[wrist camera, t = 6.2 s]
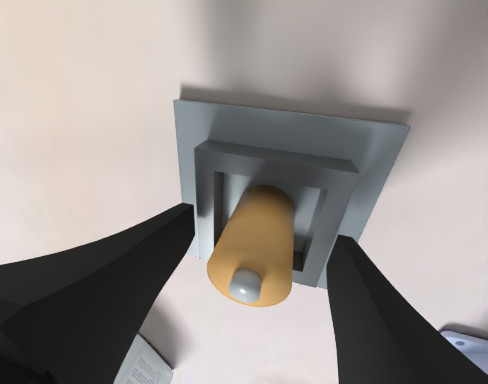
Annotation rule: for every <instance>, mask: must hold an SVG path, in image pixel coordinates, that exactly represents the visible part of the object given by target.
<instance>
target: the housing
mask: <svg viewBox="0 0 488 384" xmlns="http://www.w3.org/2000/svg"><path fill="white" fill-rule="evenodd" d="M173 102H174V114H175V125H176V136H177V148H178V159H179V171H180V182H181V194H182V203H188V204H193V205H194V218H195V237H194V239H193V241H192V243H191V245H190V247H189V249H188V251H187V254H188V255H192V256H196V257H199V259H203V260H207V261H208V260H209V258H210V256H211V254H212V252H213V250H214V248H215V247H216V245H217V243H218V241H219V239H220V237H221V235H222V233H223V231H224V229H225V227H226V225H227V223H228V221H229V219H230V217H231V215H232V213H233V211H234V209H235V207H236V205H237V203H238V201H239V199H240V197H241V196H242V194H243V193H244V192H245V191H246V190H247V189H249V188H251V187H253V186H257V185H271V186H275V187H277V188H279V189H281V190H283V191H284V192H285V193H286V194H288V196H289V197H290V198H291V200H292V201H293V204H294V208H295V220H294V243H293V266H292V282H295V283H299V284H303V285H307V286H311V287H315V288H316V287H320V288H324V289H327V276H326V265H327V262H328V259H329V257H330V254H331V252H332V249H333V247H334V244H335V241H336V239H337V236H338V234H339V235H344V236H349V237H353V239H354V240H355V241H356V242H357V243H358V240H359V238H360V236H361V234H362V232H363V230H364V227H365V225H366V223H367V221H368V219H369V217H370V214H371V212H372V210H373V208H374V206H375V204H376V201H377V199H378V197H379V195H380V193H381V191H382V188H383V186H384V184H385V182H386V180H387V178H388V175H389V173H390V171H391V169H392V167H393V165H394V162H395V160H396V158H397V156H398V154H399V152H400V149H401V147H402V145H403V143H404V141H405V139H406V136H407V134H408V132H409V130H410V128H411V127H410V126H407V125H405V124H397V123H389V122H380V121H371V120H362V119H353V118H344V117H335V116H326V115H317V114H308V113H300V112H291V111H282V110H273V109H264V108H255V107H246V106H237V105H228V104H219V103H211V102H202V101H193V100H184V99H176V100H173Z"/></svg>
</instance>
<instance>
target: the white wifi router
mask: <svg viewBox="0 0 488 384" xmlns="http://www.w3.org/2000/svg"><path fill="white" fill-rule="evenodd" d="M172 377H173V371H172V370H171V368H170V367H169V366H168V365H167V364H166V363H165V362H164V361H163V359H162V358H161V357H160V356H159V355H158V354H157V353H156V352H155V351H154V350H153V349H152V348H151V347H150V345H149V344H148V343H147V342H146V341H145V340H144V339H143V338H142V337H141V336H140V335H138V334H137V335H136V337H135V339H134V341H133V343H132V345H131V347H130V349H129V351H128V353H127V355H126V357H125V359H124V361H123V363H122V365H121V368H120V370H119V372H118V374H117V376H116V378H115V381H114V383H113V384H170V382H171V380H172Z"/></svg>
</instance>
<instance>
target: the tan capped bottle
mask: <svg viewBox="0 0 488 384" xmlns="http://www.w3.org/2000/svg"><path fill="white" fill-rule="evenodd" d="M294 220H295V208H294V204H293V201H292V200H291V198H290V197H289V196H288V194H286V193H285V192H284V191H283V190H281V189H279V188H277V187H275V186H271V185H257V186H253V187H251V188H249V189H247V190H246V191H245V192H244V193H243V194H242V196H241V197H240V199H239V201H238V203H237V205H236V207H235V209H234V211H233V213H232V215H231V217H230V219H229V221H228V223H227V225H226V227H225V229H224V231H223V233H222V235H221V237H220V239H219V241H218V243H217V245H216V247H215V248H214V250H213V252H212V254H211V256H210V258H209V260H208V263H207V273H208V276H209V279H210V281H211V282H212V284H213V285H214V286H215V288H216V289H217V290H218V291H220V292H221V293H222V294H223V295H225V296H226V297H228V298H229V299H231V300H233V301H235V302H238V303H241V304H244V305H248V306H253V307H267V306H272V305H276V304H278V303H280V302H282V301H283V300H285V299H286V298H287V296H288V295H289V293H290V291H291V287H292V266H293V243H294Z"/></svg>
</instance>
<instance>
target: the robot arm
mask: <svg viewBox="0 0 488 384" xmlns="http://www.w3.org/2000/svg"><path fill="white" fill-rule="evenodd" d="M194 237H195V218H194V205H193V204H188V203H181V204H179V205H176V206H174V207H172V208H170V209H168V210H166V211H164V212H162V213H160V214H158V215H156V216H154V217H152V218H150V219H148V220H146V221H144V222H142V223H140V224H137V225H135V226H133V227H131V228H129V229H126V230H124V231H122V232H119V233H117V234H114V235H111V236H109V237H106V238H103V239H100V240H98V241H95V242H91V243H88V244H85V245H82V246H78V247H75V248H72V249H69V250H65V251H61V252H57V253H54V254H50V255H45V256H41V257H37V258H33V259H28V260H24V261H19V262H13V263H8V264H3V265H0V384H113V383H114V381H115V378H116V376H117V374H118V372H119V370H120V368H121V365H122V363H123V361H124V359H125V357H126V355H127V353H128V351H129V349H130V347H131V345H132V343H133V341H134V339H135V337H136V335H137V333H138V331H139V329H140V327H141V325H142V323H143V321H144V320H145V318H146V316H147V314H148V312H149V310H150V308H151V307H152V305H153V303H154V301H155V299H156V298H157V296H158V294H159V293H160V291H161V289H162V288H163V286H164V285H165V283H166V282H167V281H168V279H169V278H170V276H171V275H172V273H173V272H174V270H175V269H176V267H177V266H178V264H179V263H180V261H181V260H182V258H183V257H184V255H185V254H186V252H187V251H188V249H189V247H190V245H191V243H192V241H193V239H194ZM326 276H327V290H328V296H329V303H330V309H331V315H332V321H333V327H334V333H335V340H336V348H337V362H338V377H339V384H488V341H487V340H483V339H479V338H475V337H472V336H468V335H464V334H460V333H456V332H452V331H444V332H441V333H439V332H438V331H437V330H436V329H435V328H434V327H433V326H432V325H431V324H430V323H429V322H427V321H426V320H425V319H424V318H423V317H422V316H421V315H420V314H419V313H418V312H417V311H416V310H415V309H414V308H413V307H412V306H411V305H410V304H409V303H408V302H407V301H406V300H405V299H404V297H403V296H402V295H401V294H400V293H399V292H398V291H397V290H396V289H395V288H394V287H393V286H392V284H391V283H390V282H389V281H388V280H387V279H386V278H385V276H384V275H383V274H382V273H381V272H380V271H379V269H378V268H377V267H376V266H375V265H374V263H373V262H372V261H371V260H370V258H369V257H368V256H367V255H366V253H365V252H364V251H363V250H362V248H361V247H360V246H359V245H358V243H357V242H356V241H355V240H354V239H353V237H349V236H344V235H339V234H338V236H337V239H336V241H335V244H334V247H333V249H332V252H331V254H330V257H329V259H328V262H327V265H326Z"/></svg>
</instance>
